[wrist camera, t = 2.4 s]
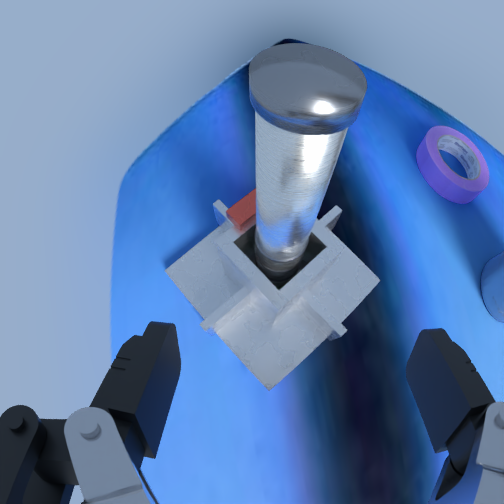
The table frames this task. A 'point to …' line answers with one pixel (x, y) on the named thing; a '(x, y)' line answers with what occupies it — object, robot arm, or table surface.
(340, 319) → the jack base
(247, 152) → the table surface
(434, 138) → the masking tape
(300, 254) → the cylinder
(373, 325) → the table surface
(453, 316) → the table surface
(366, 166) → the table surface
